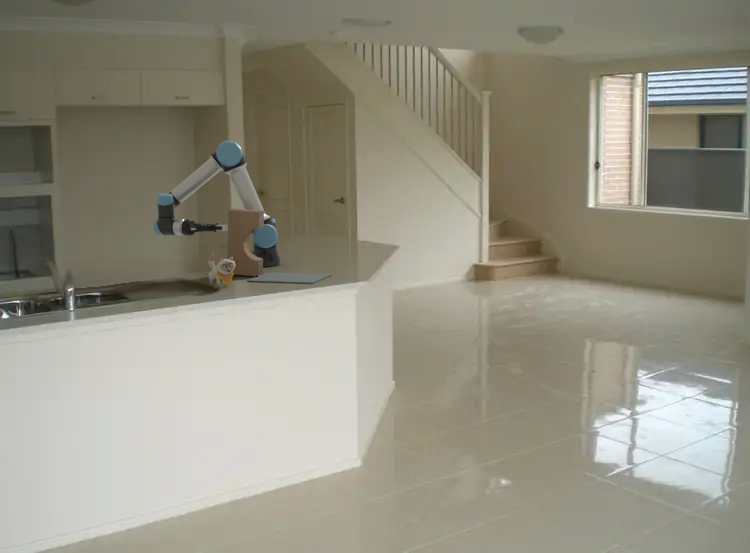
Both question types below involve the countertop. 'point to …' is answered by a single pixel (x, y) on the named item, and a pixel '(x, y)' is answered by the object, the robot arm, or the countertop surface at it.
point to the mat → (291, 278)
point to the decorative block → (244, 240)
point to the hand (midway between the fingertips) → (229, 227)
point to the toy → (221, 270)
